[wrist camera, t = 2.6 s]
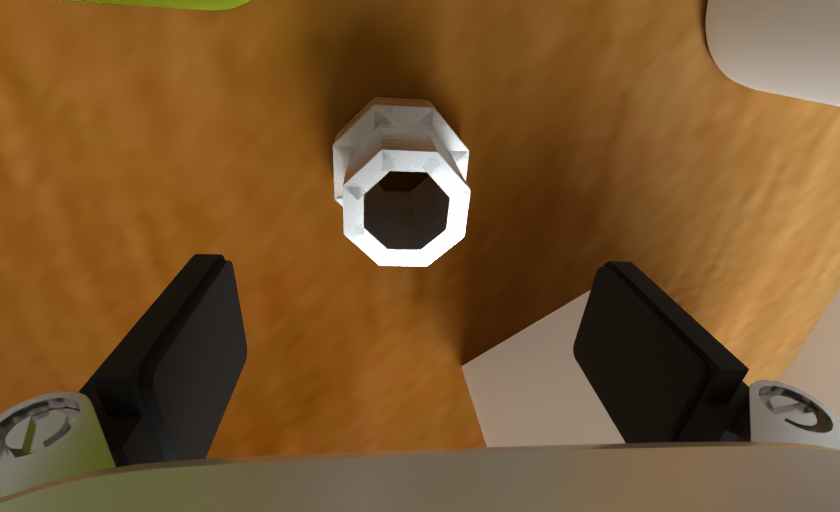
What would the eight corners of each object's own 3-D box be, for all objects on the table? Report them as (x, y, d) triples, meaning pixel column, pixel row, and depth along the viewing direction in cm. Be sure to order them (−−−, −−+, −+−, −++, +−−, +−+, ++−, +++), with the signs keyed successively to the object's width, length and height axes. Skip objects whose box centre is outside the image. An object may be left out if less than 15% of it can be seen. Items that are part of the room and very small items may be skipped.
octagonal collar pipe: (335, 94, 18) (318, 124, 13) (465, 102, 18) (499, 133, 13) (339, 215, 21) (326, 280, 15) (452, 218, 21) (475, 281, 16)
